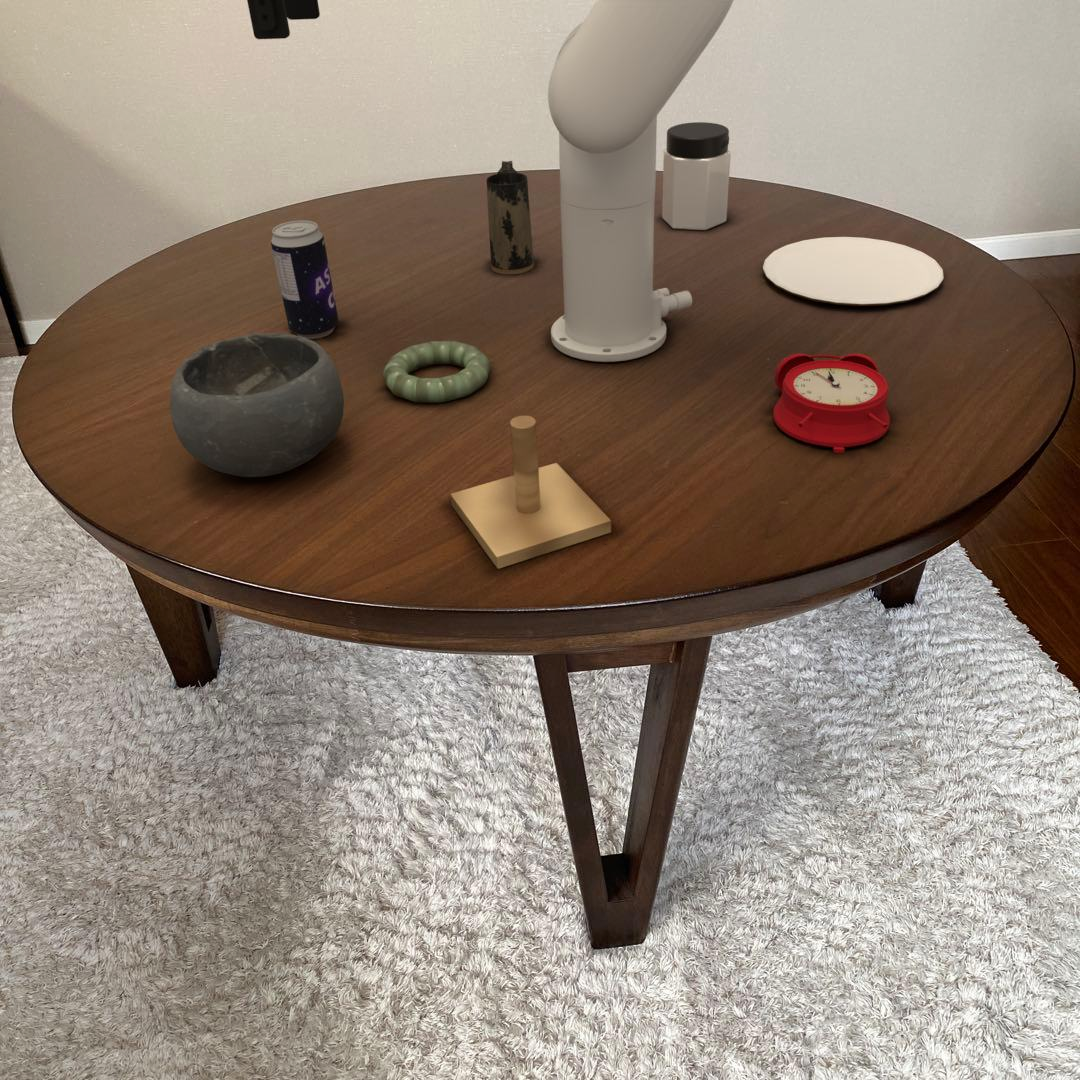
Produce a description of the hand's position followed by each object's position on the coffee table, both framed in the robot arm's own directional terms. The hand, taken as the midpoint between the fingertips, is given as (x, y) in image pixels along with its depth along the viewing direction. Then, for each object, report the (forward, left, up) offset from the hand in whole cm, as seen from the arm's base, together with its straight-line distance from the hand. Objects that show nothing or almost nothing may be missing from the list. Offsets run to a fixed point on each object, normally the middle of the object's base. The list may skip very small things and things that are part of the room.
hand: (288, 28), depth 94 cm
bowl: (+13, +22, -32) cm, 41 cm away
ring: (-6, +15, -31) cm, 35 cm away
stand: (-4, +42, -32) cm, 53 cm away
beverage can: (+2, -4, -32) cm, 32 cm away
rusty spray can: (-26, -11, -32) cm, 42 cm away
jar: (-54, -12, -32) cm, 63 cm away
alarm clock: (-36, +40, -32) cm, 63 cm away
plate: (-59, +15, -32) cm, 68 cm away
